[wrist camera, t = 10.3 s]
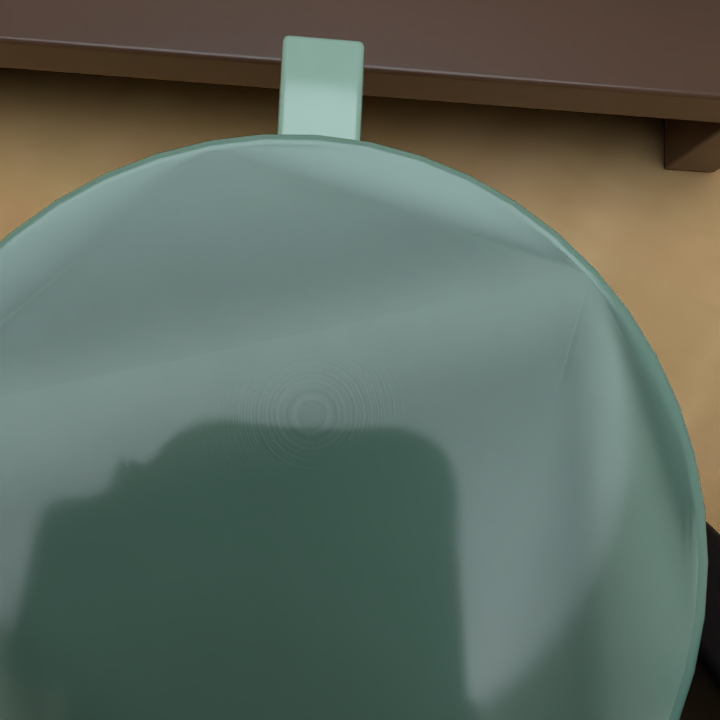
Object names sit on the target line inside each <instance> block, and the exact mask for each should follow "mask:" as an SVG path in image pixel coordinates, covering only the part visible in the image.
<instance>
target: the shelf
mask: <svg viewBox="0 0 720 720" xmlns="http://www.w3.org/2000/svg"><path fill="white" fill-rule="evenodd" d="M285 36H301V37H313V38H325V39H337V40H349V41H359V42H362V43H363V45H364V48H365V58H364V80H363V95H367V96H380V97H393V98H406V99H419V100H432V101H445V102H458V103H471V104H484V105H497V106H510V107H523V108H536V109H549V110H562V111H575V112H588V113H601V114H614V115H627V116H640V117H653V118H665V168H666V169H677V170H691V171H705V172H715V171H716V170H718V169H720V0H0V67H3V68H16V69H29V70H42V71H55V72H68V73H81V74H94V75H107V76H120V77H133V78H146V79H159V80H172V81H185V82H198V83H211V84H224V85H237V86H250V87H263V88H276V89H280V74H281V56H282V42H283V40H284V38H285Z"/></svg>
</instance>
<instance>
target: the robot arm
mask: <svg viewBox="0 0 720 720" xmlns="http://www.w3.org/2000/svg"><path fill="white" fill-rule="evenodd" d="M706 535H707V552H708V573H707V589H706V605H705V619H704V624H703V629H702V635H701V640H700V645H699V651H698V656H697V661H696V667H695V672H694V675H693V678H692V682H691V685H690V688H689V691H688V694H687V697H686V700H685V703H684V707H683V710H682V713H681V716H680V719H679V720H720V534H719V533H718V532H717V531H716V530H715V529H714V528H713V527H711V526H710V525H709V524H708V523H707V522H706Z"/></svg>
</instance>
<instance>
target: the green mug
mask: <svg viewBox="0 0 720 720" xmlns="http://www.w3.org/2000/svg"><path fill="white" fill-rule="evenodd" d="M364 58H365V48H364V45H363V43H362V42H359V41H349V40H337V39H325V38H313V37H301V36H285V38H284V40H283V42H282V56H281V74H280V91H279V109H278V127H277V134H261V135H253V136H244V137H236V138H227V139H219V140H210V141H206V142H202V143H198V144H194V145H190V146H186V147H182V148H178V149H174V150H170V151H166V152H162V153H157V154H154V155H152V156H149V157H147V158H144V159H142V160H139V161H136V162H134V163H131V164H129V165H126V166H124V167H121V168H118V169H116V170H113V171H111V172H108V173H105V174H103V175H102V176H100V177H98V178H96V179H94V180H92V181H90V182H89V183H87V184H85V185H83V186H81V187H79V188H78V189H76V190H74V191H72V192H70V193H68V194H66V195H65V196H63V197H61V198H59V199H57V200H55V201H54V202H53V203H51V204H50V205H48V206H47V207H46V208H44V209H43V210H41V211H40V212H39V213H37V214H36V215H34V216H33V217H32V218H30V219H29V220H27V221H26V222H25V223H23V224H22V225H21V226H19V227H18V228H16V229H15V230H14V231H12V232H11V233H9V234H8V235H7V236H6V237H5V238H4V239H3V240H2V241H1V242H0V720H679V719H680V716H681V713H682V710H683V707H684V703H685V700H686V697H687V694H688V691H689V688H690V685H691V682H692V678H693V675H694V672H695V667H696V661H697V656H698V651H699V645H700V640H701V635H702V629H703V624H704V619H705V605H706V589H707V573H708V552H707V535H706V519H705V506H704V501H703V495H702V490H701V485H700V479H699V474H698V469H697V463H696V458H695V453H694V450H693V447H692V444H691V441H690V438H689V435H688V431H687V428H686V425H685V422H684V419H683V416H682V413H681V409H680V406H679V403H678V401H677V399H676V397H675V395H674V392H673V390H672V388H671V386H670V384H669V382H668V379H667V377H666V375H665V373H664V371H663V369H662V366H661V364H660V362H659V360H658V358H657V355H656V354H655V352H654V351H653V349H652V347H651V346H650V344H649V342H648V341H647V339H646V338H645V336H644V334H643V333H642V331H641V330H640V328H639V326H638V325H637V323H636V322H635V320H634V318H633V317H632V315H631V314H630V312H629V310H628V309H627V308H626V307H625V305H624V304H623V303H622V302H621V300H620V299H619V298H618V297H617V295H616V294H615V293H614V292H613V290H612V289H611V288H610V287H609V286H608V284H607V283H606V282H605V281H604V279H603V278H602V277H601V276H600V274H599V273H598V272H597V271H596V269H595V268H594V267H592V266H591V265H590V264H589V263H588V262H587V261H586V260H585V259H584V258H583V257H582V256H581V255H580V254H579V253H578V252H577V251H576V250H575V249H574V248H573V247H572V246H571V245H570V244H569V243H567V242H566V241H565V240H564V239H563V238H562V237H561V236H560V235H559V234H558V233H557V232H556V231H554V230H553V229H552V228H550V227H549V226H548V225H546V224H545V223H544V222H542V221H541V220H540V219H538V218H537V217H536V216H534V215H533V214H531V213H530V212H529V211H527V210H526V209H525V208H523V207H522V206H521V205H519V204H518V203H517V202H515V201H514V200H512V199H510V198H508V197H507V196H505V195H503V194H501V193H499V192H498V191H496V190H494V189H492V188H491V187H489V186H487V185H485V184H484V183H482V182H480V181H478V180H476V179H475V178H473V177H471V176H469V175H467V174H464V173H462V172H460V171H457V170H455V169H452V168H450V167H447V166H445V165H442V164H440V163H438V162H435V161H433V160H430V159H428V158H425V157H423V156H420V155H416V154H413V153H409V152H405V151H402V150H398V149H394V148H390V147H387V146H383V145H379V144H375V143H372V142H366V141H361V124H362V102H363V80H364Z"/></svg>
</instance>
